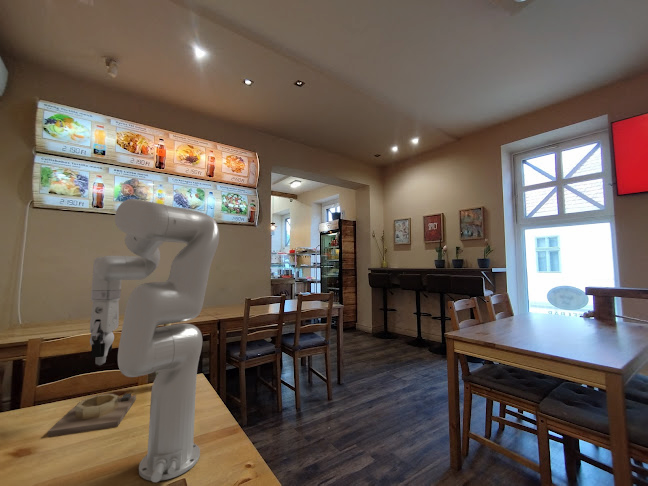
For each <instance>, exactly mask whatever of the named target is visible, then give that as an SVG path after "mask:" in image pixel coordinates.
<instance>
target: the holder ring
mask: <svg viewBox="0 0 648 486" xmlns="http://www.w3.org/2000/svg"><path fill="white" fill-rule="evenodd" d="M119 397H120V396H119V395H117V394H115V393H106V394H105V393H104V394H96V395H93V396H91V397H87V398H85V399H82V400H81V401H79V402H80V403H79V402H78V403H79V404H78V403H77V404H78V405H77V404H76V405H77V406H76V405H75V406H76V414H75V417H77V418H80V419H82V420H84V419H91V418H99V417H101V416H104V415H106V414H109V413H111V412H114V410H115V409H116V408H117V407H118V400H119Z"/></svg>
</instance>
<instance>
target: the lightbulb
mask: <svg viewBox="0 0 648 486" xmlns="http://www.w3.org/2000/svg"><path fill="white" fill-rule="evenodd" d="M98 333H103V331H99V332H98ZM98 336H100V337H102V335H98ZM114 340H115V334H114V331H113V332H110V333H106V334H105V339H104V343H105V352H104V356H103V357H96V358H95V362H94V363H95V365H98V366H102V365H104V364H105V363H106V360H107V356H108V353H109V352H108V350H109V347H110V346H111V344H112V345H113V343H114ZM89 345H90V346H91V347H92V337H91V336H90V338H89Z"/></svg>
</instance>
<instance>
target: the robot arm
mask: <svg viewBox="0 0 648 486" xmlns="http://www.w3.org/2000/svg"><path fill="white" fill-rule="evenodd" d="M114 223H115V225H116V227H117V229H118V230H119V231H121V232H122V233H124V234H126V235H125V237H124V243H125V245H126V248H127V250H129V251H130V252H131V253H133V254H134V255H136V256H133V255H132V256H131V255H105V256H99V257H96V258H95V259H94V260H93V264H92V265H93V267H92V281H91V289H90V290H91V291H90V292H91V293H90V302H92V306H91V313H90V320H89V321H90V322H89V333H90V337H92V346H91V348H90V349H91V351H90V358H92V359H93V358H94V359H96V357H103V356H104V352H105V343H104V339H105V334H106V333H110V332H113V333H114V331H115V330H117V329H118V328H119V326H120V325H119V323H120V321H119V320H120V319H119V318H120V305H119V301H120V300H121V292H122V291H121V290H122V281H137V280H138V281H140V280H145V279H146V278H148V277H150V276H151V275H152V274H153V273H154V272H155V271H156V270H157V268H159V267H158V266H159V265H160V260H161V251H160V249H159V248H160V247H161V246H162V245H163V244H164V243H165V242H166V243H167V242H168V243H181V244H186V246H185V245H184V247H183V248H181V250H180V251H179V252H178V253H177V254H176V256H175V257H174V258H173V260H172V262H171V266H170V271H169V276H168V279H167V280H166V281H154V282H153V281H152V282H151V281H150V282H145V283H142V284H140V285H138V286H137V287H135V288H133V290H132V292H131V293H130V295H128V299H127V301H126V306H125V310H124V317H123V320H122V321H123V323H122V326H121V327H122V328H121V333H120V338H119V344H118V349H117V350H118V351H117V366H118V368H119V371H120V373H121V374H122V375H123V376H125V377H127V378H135V377H136V378H137V377H142V376H146V375H149V374H152V373H153V374H154V373H156V371H159V372H158V374H157V376H156V375H155V378H154V381H153V384H152V386H151V393H150V406H149V407H150V409H149V422H148V423H149V425H148V442H147V444H148V445H147V454H145V456H144V457H143V458H142V459H141V461H140V462H139V465H138V474H139V476H140V477H141V478H143V480H147V481H151V482H152V483H158V482H160V481H161V482H162V481H167V480H171V479H173V478H176V477H179V476H180V475H184V474H185V473H186V472H188V471H189V470H191V469H192V468H193V467H194V466H195V465H196V464H197V463H198V461H199V458H200V455H201V448H200V446H198V445H197V443H195V442H194V436H195V435H194V434H195V415H196V414H195V413H196V412H195V411H196V390H197V376H198V375H197V374H198V367H199V361H200V356H201V353H202V347H203V334H202V331H201V330H200V328H199V327H198V326H196V325H195V324H191V323H183V322H187V321H190V320H193V319H196V318H197V317H198V316H200V314H201V311H202V309H203V306H204V301H205V295H206V291H207V287H208V280H209V275H210V270H211V265H212V262H213V259H214V258H215V254H216V251H217V249H218V245H219V243H220V230H219V229H220V228H219V225H218V223H217V221H216V220H215V219H214V218H213V217H211V216H210V215H208V214H207V213H204V212H202V211H197V210H193V209H187V208H183V207H182V208H181V207H176V206H171V205H166V204H163V203H159V202H153V201H147V200H142V199H137V198H129V199H126V200H124V201H122V202H121V204H119V205H118V207H117V209H116V210H115V213H114ZM181 322H182V323H181ZM170 323H171V325H169V326H164V324H170ZM174 323H175V324H174ZM158 326H160V327H158ZM99 331H103V333H98V332H99ZM98 335H102V337H100V336H98ZM112 350H113V343H112V344H111V346H110V347H109V350H108V353H110V352H112Z"/></svg>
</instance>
